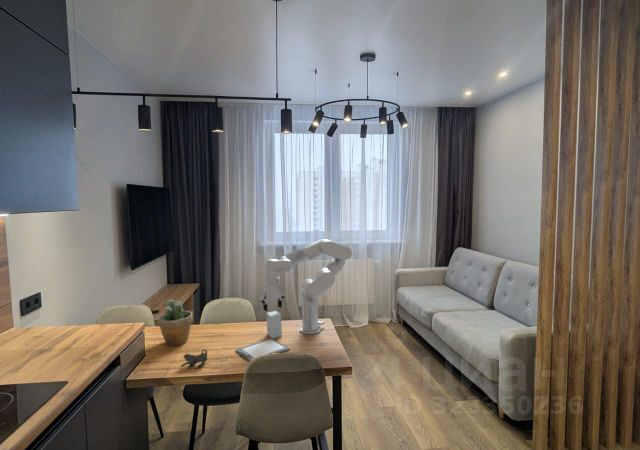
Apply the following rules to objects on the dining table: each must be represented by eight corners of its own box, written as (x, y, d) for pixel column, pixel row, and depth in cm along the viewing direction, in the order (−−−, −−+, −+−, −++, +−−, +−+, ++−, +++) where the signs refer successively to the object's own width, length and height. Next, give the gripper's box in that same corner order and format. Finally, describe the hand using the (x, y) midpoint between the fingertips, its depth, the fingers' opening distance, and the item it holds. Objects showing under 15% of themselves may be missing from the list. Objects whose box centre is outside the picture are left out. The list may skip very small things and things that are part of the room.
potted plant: (151, 345, 189) (149, 301, 187) (179, 333, 206) (177, 293, 204) (174, 351, 181) (171, 306, 179) (201, 338, 197) (199, 296, 195)
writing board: (271, 339, 193) (271, 336, 193) (289, 350, 180) (289, 346, 179) (235, 351, 180) (235, 347, 179) (252, 363, 166) (252, 359, 166)
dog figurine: (208, 361, 169) (207, 347, 169) (207, 367, 163) (206, 352, 163) (182, 364, 167) (182, 349, 166) (180, 369, 161) (180, 354, 160)
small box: (282, 336, 199) (281, 314, 198) (271, 338, 195) (271, 316, 194) (276, 331, 206) (276, 310, 205) (266, 333, 202) (266, 312, 202)
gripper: (281, 277, 206) (281, 304, 208) (256, 281, 195) (256, 310, 197) (288, 279, 201) (288, 307, 202) (262, 283, 190) (263, 313, 191)
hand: (272, 308), depth 199 cm, fingers open, 9 cm apart
